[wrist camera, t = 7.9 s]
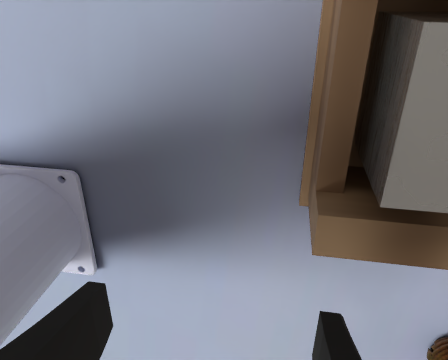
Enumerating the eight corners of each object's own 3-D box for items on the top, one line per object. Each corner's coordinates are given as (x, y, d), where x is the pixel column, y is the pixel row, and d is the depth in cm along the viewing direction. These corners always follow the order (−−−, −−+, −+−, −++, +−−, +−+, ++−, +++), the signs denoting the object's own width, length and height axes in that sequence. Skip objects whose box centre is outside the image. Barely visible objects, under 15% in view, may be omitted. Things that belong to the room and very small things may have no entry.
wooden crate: (299, 200, 21) (301, 264, 16) (334, -96, 14) (355, -141, 10) (442, 212, 20) (492, 286, 15) (547, -102, 13) (694, -155, 8)
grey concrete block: (354, 144, 18) (379, 207, 13) (379, 11, 15) (424, 22, 10) (419, 148, 18) (472, 215, 12) (455, 12, 15) (544, 24, 10)
